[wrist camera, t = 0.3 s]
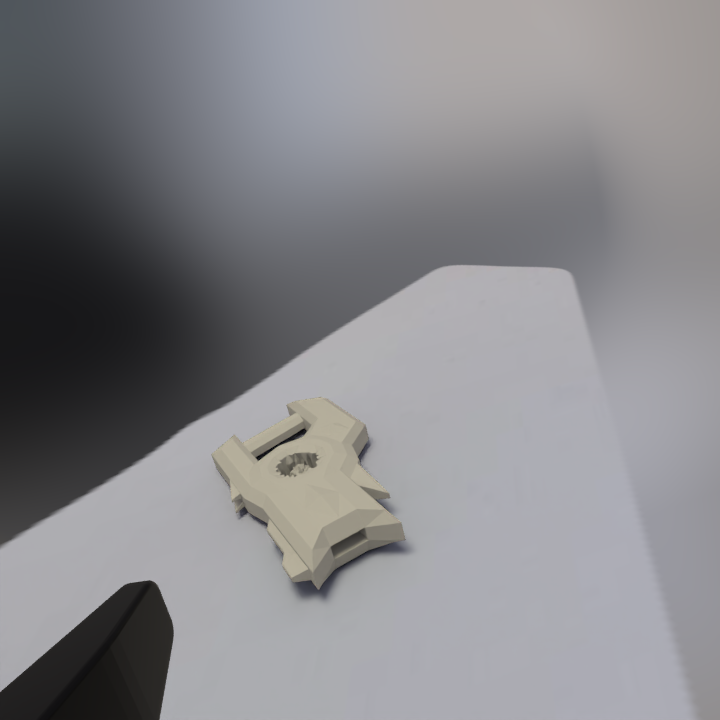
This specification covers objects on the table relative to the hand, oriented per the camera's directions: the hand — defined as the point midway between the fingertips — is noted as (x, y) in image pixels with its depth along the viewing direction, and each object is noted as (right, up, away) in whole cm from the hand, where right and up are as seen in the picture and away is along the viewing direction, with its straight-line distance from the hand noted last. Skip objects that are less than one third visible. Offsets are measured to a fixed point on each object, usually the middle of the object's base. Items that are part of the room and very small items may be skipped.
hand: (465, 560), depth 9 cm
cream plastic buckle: (-4, -6, +31) cm, 32 cm away
